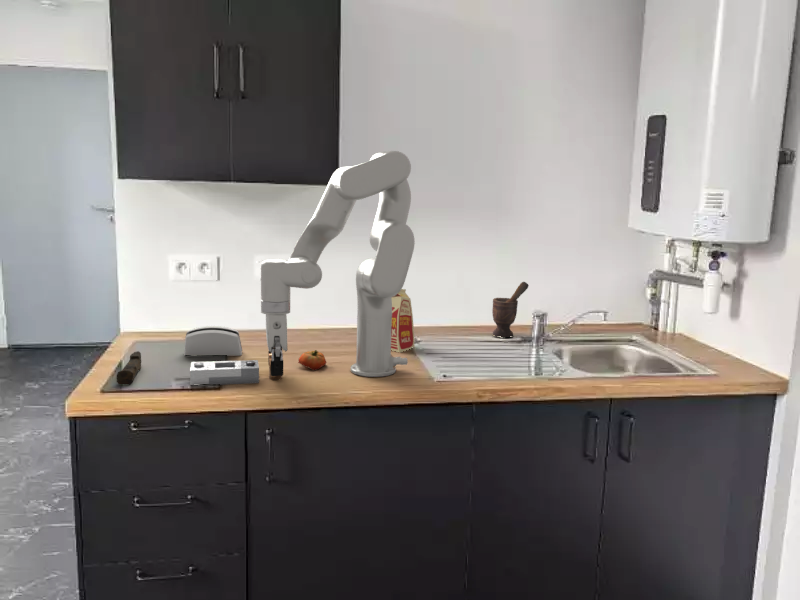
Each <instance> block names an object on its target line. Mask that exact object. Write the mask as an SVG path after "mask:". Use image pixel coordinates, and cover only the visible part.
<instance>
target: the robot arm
mask: <svg viewBox="0 0 800 600" xmlns="http://www.w3.org/2000/svg"><path fill="white" fill-rule="evenodd" d="M411 171H412V164H411V161H410V158H408V156H407V155H406V154H405V153H403V152H401V151H398V150H390V151H389V150H388V151H379V152H376V153H375V154H373V155H372V156H371V157H370V158H369V160H367V161H365V162H362V163H358V164H356V165H353V166H342V167H339V168H337V169H336V170H335V171H333V173H332V175H331V177H330V179H329V181H328V183H327V185H326V188H325V190H324V193H323V194H322V196H321V199H320V200H319V202H318V204H317V207H316V209H315V211H314V213H313V215H312V217H311V219H310V220H309V222H308V223H307V225H306V227H305V228H304V230H303V232H301V235H300V236H299V237H298V239H297V241H296V243H295V245H294V248H293V250H292V252H291V253H290V256H289V258H288V260H287V259H283V258H269V259H264V260H263V261H261V265H260V313H261V314H263V315H265V333H266V335H265V337H266V338H265V339H266V345H267V348H268V352H267V353H268V354H269V353H271V355H272V360H271V376H282V377H283V376H284V358H283V357H284V354H283V355H282V353H283V351H284V352H287V351H288V319H287V316H288V314H290V313H291V288H296V289H298V288H299V289H313V288H315V287H316V286H318V285H319V284H320V283H321V281H322V278H323V271H322V268H321V266H320V265H319V264H318V261H319V259H320V257H321V255H322V253H323V252H324V249H325V248H326V247H327V245H328V244H329V243H330V242H332V240H334V239H335V238H337V237H338V236H339V235H340V233H342V231H343V230H344V227H345V225H346V224H347V221H348V219H349V217H350V214H351V213H352V212H353V211H352V210H354V209H353V208H354V207H355V205H356V202H357V201H359V200H364V199H366V198H369V197H372V196H374V195H377V194H379V198H378V205H377V210H376V213H375V217H374V220H373V224H372V228H371V231H370V233H369V244H370V246H371V247H372V249H373V250H374V251H375V252H376V254H375V257H370V258H366V259H365V260H363V261H362V262H361V263H360V264H359V266H358V268H357V270H356V274H355V285H356V286H355V287H356V288H355V289H356V295H357V296H356V298H357V299H356V300H357V309H356V310H357V316H356V317H357V318H356V358H355V359H356V360H355V361H356V362H355V363H353V364H352V365H351V366H350V372H351V373H352V374H354V375H357V376H361V377H368V378H369V377H370V378H371V377H373V378H374V377H375V378H377V377H379V378H380V377H388V376H392V375H393V374H395V373H396V371H397V365H401V366H405V365H408V362H409V361H408V358H407V357H401V356H393V355H392V351H391V328H392V298H391V297H394V296H395V295H397V294H398V293H399V292H400V290H401V289H403V287H404V285H405V282H406V279H407V276H408V275H407V274H408V272H409V268H410V265H411V262H412V258H413V254H414V249H415V244H416V243H415V235H414V232H413V230H412V229H411V227H410V226H409V225H408V224H407V223H408V222H407V221H408V217H409V212H410V208H411V201H412V194H411V193H412V192H411V187H410V184H409V181H408V178H409V176H410V174H411ZM268 354H267V355H268ZM267 363H268V365H269V356H268V361H267Z"/></svg>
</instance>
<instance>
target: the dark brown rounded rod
mask: <svg viewBox="0 0 800 600" xmlns="http://www.w3.org/2000/svg"><path fill="white" fill-rule="evenodd" d="M140 369H142V353H141V352H140V351H139V350H138V351H134V352H133V353H131V354H130V356H129V360H128V362H127V363H126V364H125V366H124V367H123V368H122V370H120V371H118V372H117V374H116V383H118V385H119V384H129V385H131V384H132V383H133V381H134V378H135V377H136V375H137V373H138V372H139V371H141V370H140ZM138 370H139V371H138Z"/></svg>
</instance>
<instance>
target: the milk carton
mask: <svg viewBox="0 0 800 600" xmlns="http://www.w3.org/2000/svg"><path fill="white" fill-rule="evenodd" d="M406 291H407V290H406V289H405V288H402V289H401V290H400V292H399V293H398V294H397V295H395V296H394V297H391V298H392V328H391V350H392V351H391V352H394V351H396V352H395V353H398V352H400V353H403V351H404V352H407V351H410V350H412V349H411V348H412V347H414V348H415V329H414V315H413V309H412V308H413V307H412V299H411V297H410V296H409V295H408V294H407V293H406ZM409 349H410V350H409ZM406 350H407V351H406Z"/></svg>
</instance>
